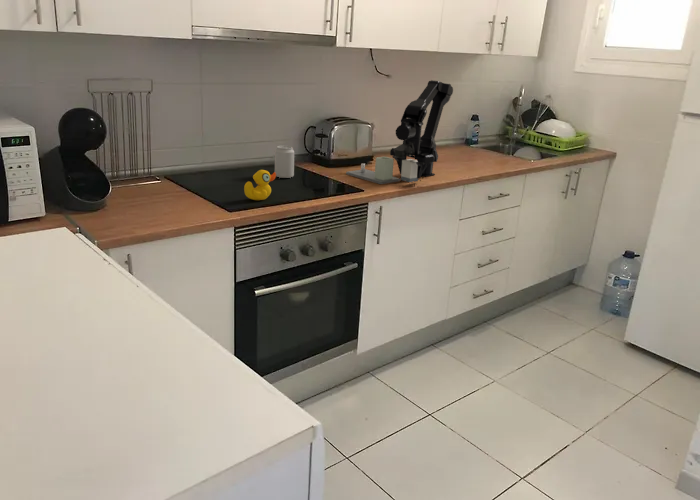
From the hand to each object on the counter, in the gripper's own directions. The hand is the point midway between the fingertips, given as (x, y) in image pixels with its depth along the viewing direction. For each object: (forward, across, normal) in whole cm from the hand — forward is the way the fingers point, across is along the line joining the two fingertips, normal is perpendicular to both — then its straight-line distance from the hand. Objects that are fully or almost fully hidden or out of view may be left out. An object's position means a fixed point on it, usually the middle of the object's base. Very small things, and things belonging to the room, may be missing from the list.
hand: (409, 176), depth 234 cm
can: (+2, -29, -41) cm, 50 cm away
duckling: (+2, -6, -68) cm, 68 cm away
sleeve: (+2, 0, 0) cm, 2 cm away
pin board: (+2, -11, -10) cm, 15 cm away
